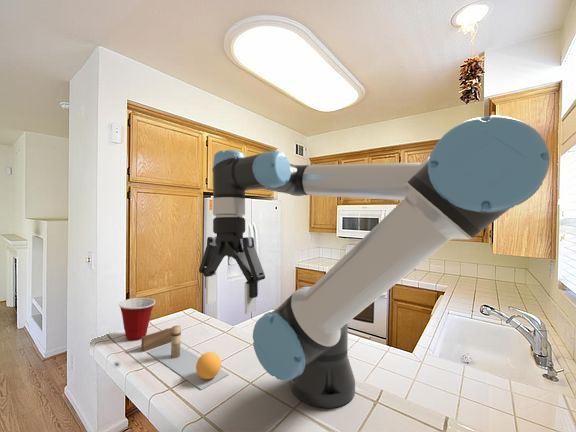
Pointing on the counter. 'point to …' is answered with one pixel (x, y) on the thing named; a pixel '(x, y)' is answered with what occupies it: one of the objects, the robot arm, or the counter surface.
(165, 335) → the board
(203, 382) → the lane mark
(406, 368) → the counter surface
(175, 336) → the pin
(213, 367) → the ball
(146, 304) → the plastic cup
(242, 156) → the robot arm
